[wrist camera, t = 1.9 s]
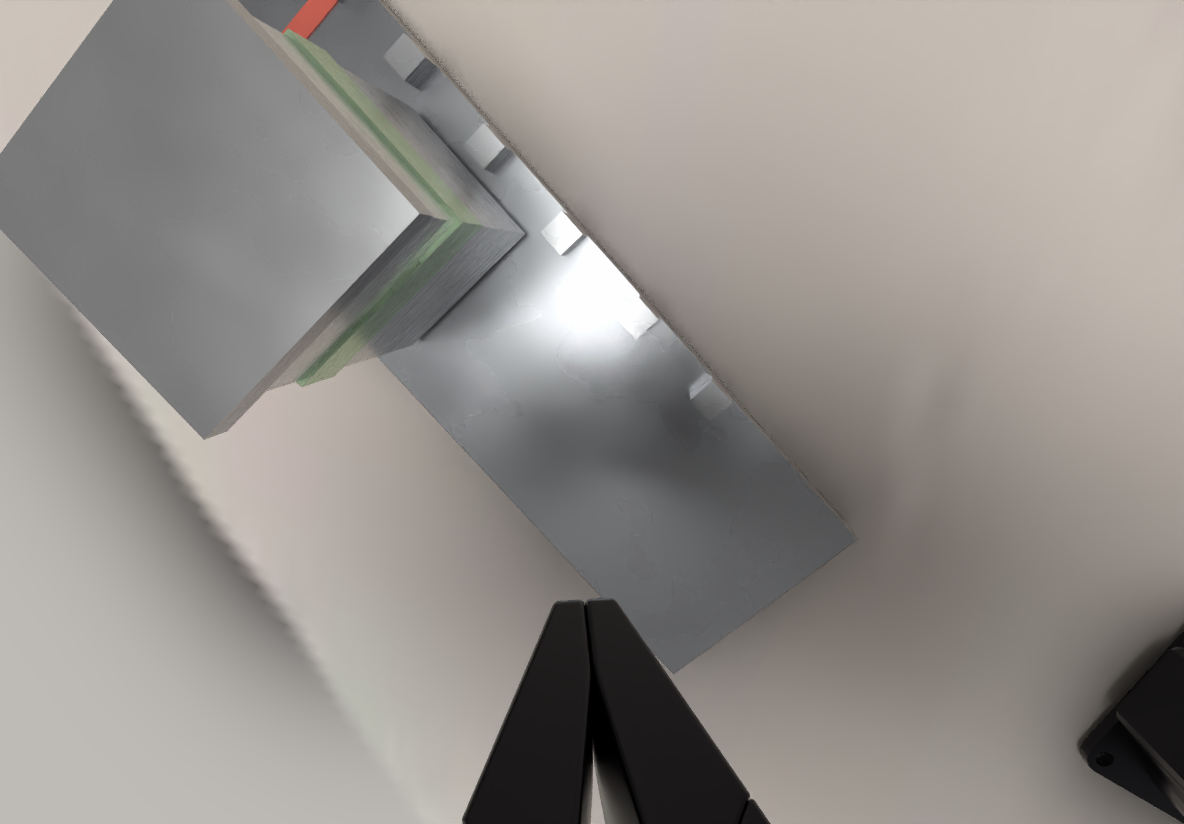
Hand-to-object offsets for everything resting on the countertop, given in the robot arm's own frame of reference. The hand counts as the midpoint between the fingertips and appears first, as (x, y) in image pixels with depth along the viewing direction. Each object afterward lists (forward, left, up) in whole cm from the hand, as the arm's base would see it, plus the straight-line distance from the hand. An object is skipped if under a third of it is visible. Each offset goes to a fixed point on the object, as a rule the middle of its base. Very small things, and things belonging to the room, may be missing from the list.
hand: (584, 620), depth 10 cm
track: (+5, -1, -12) cm, 13 cm away
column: (+8, -2, -11) cm, 14 cm away
